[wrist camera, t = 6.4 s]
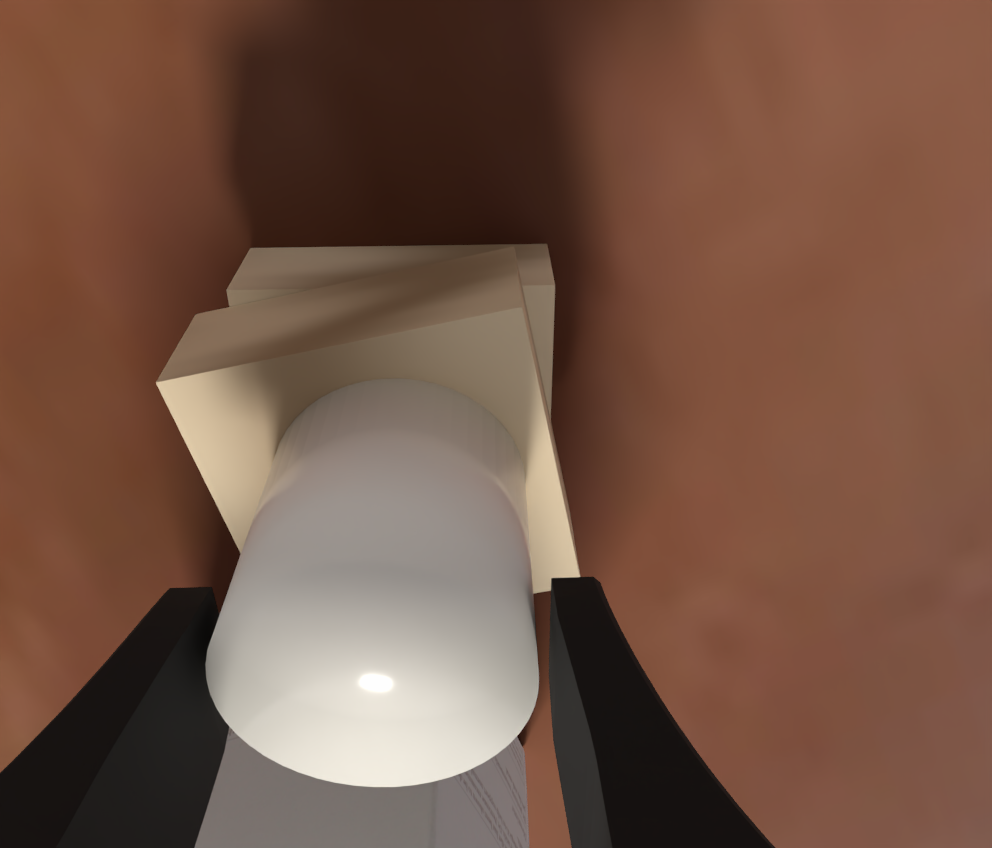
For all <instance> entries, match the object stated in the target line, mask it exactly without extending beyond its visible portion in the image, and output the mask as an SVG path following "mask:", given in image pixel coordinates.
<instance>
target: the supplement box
mask: <svg viewBox="0 0 992 848" xmlns="http://www.w3.org/2000/svg"><path fill="white" fill-rule="evenodd" d="M195 848H529V831H528V809H527V787H526V769H525V753H524V749H523V747H522V745H521V743H520V741H519V739H518V737H517V736H516V738H515V739H514V740H513V741H512V742H511V743H510V744H509V745H508V746H506V747H505V748H504V749H503V750H502V751H500V752H499V753H498V754H497V755H495V756H494V757H492V758H490V759H489V760H487V761H486V762H484V763H482V764H480V765H478V766H476V767H474V768H472V769H470V770H468V771H466V772H463V773H460V774H458V775H455V776H452V777H449V778H445V779H442V780H438V781H434V782H429V783H424V784H418V785H411V786H400V787H365V786H353V785H347V784H340V783H334V782H330V781H326V780H322V779H317V778H314V777H311V776H308V775H305V774H302V773H299V772H296V771H294V770H292V769H289V768H287V767H285V766H282V765H280V764H278V763H277V762H275V761H273V760H271V759H269V758H267V757H266V756H264V755H262V754H261V753H259V752H258V751H257V750H255V749H254V748H252V747H251V746H249V745H248V744H247V743H246V742H245V741H244V740H243V739H241V738H240V737H239V736H238V735H237V734H236V733H235V732H234V731H233V730H232V729H231V728H230V726H229V731H228V736H227V741H226V746H225V751H224V754H223V758H222V761H221V764H220V768H219V771H218V774H217V777H216V781H215V784H214V787H213V790H212V794H211V797H210V800H209V803H208V806H207V810H206V813H205V816H204V819H203V822H202V825H201V829H200V832H199V835H198V838H197V841H196V844H195Z"/></svg>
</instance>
